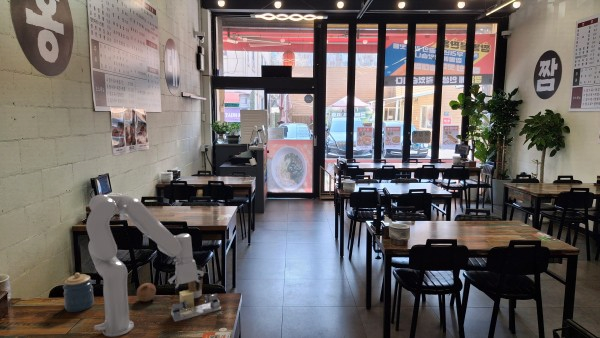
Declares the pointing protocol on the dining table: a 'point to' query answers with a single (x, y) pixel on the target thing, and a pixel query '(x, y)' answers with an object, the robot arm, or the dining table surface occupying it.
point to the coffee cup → (193, 286)
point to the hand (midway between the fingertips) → (187, 291)
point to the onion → (146, 292)
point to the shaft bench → (195, 308)
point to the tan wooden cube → (187, 297)
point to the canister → (78, 293)
